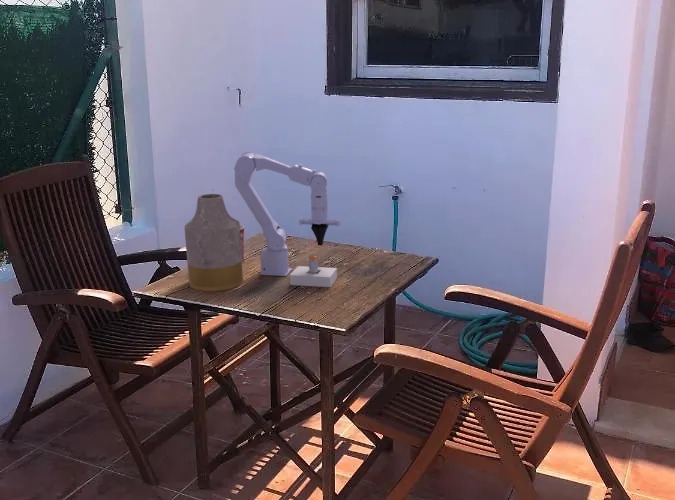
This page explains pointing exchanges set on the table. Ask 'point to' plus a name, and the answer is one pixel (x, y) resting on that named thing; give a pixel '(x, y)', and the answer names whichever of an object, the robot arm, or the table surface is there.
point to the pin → (313, 264)
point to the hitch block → (313, 277)
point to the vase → (213, 247)
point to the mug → (242, 241)
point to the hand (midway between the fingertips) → (320, 244)
